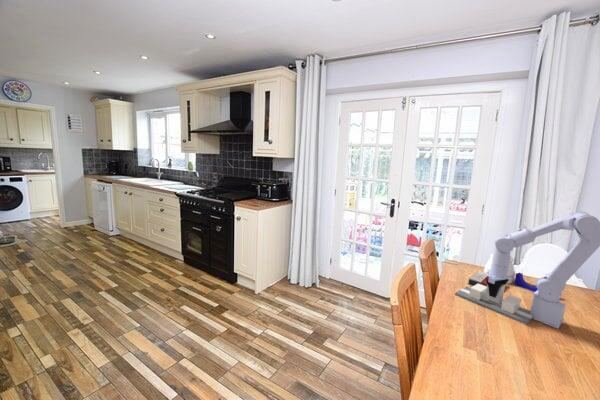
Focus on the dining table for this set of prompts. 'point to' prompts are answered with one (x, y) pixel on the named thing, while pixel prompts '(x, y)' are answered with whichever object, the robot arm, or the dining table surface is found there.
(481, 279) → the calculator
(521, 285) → the blue shoe
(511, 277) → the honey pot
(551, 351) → the dining table surface
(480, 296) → the mounted modules
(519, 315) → the rail board
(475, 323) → the dining table surface
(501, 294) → the block
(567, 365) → the dining table surface
